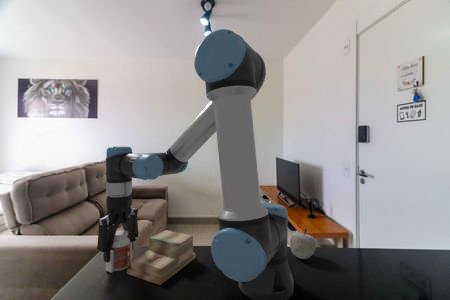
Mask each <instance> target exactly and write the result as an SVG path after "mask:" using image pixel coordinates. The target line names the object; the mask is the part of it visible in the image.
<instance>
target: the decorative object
mask: <svg viewBox="0 0 450 300" xmlns="http://www.w3.org/2000/svg"><path fill="white" fill-rule="evenodd" d="M289 246H290V247H289V248H290V251H291V253H292V254H293V255H294V256H295V257H297V258H298V259H302V260H307V259H310V258H311V257H312V255H313V254H314V253H315V252H316V248H317V240H316V239H315V237H314V236H312V235H310V234H307V228H304V230H303V232H301V231H295V232H293V233H292V234H291V235H290V238H289Z"/></svg>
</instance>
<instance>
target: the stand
mask: <svg viewBox="0 0 450 300" xmlns="http://www.w3.org/2000/svg"><path fill="white" fill-rule="evenodd" d="M148 240H149V249H148V250H146V251H144V252H142V253H141V254H139V255H137V256H135V257H132V259H131V262H130V266H129V267H127V268H126V274H127V275H130V276H133V277H135V278H138V279H141V280H144V281H146V282H150V283H153V284H156V285H158V286H161V285H162V284H164V283H166V281H168V280H169V279H170V278H172V276H175V274H177V273H178V272H179V271H181V270H182V269H183V268H184V267H185V266H187V265H188V264H190V263H191V262H192V261H193V260H195V258H197V257H196V255H197V254H196V253H195V252H193V251H194V236H193V235H192V234H187V233H182V232H177V231H174V230H173V231H172V230H167V229H164V230H163V231H160V232H158V233H156V234H154V235H152V236H150V237H149V239H148Z"/></svg>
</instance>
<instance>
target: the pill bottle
mask: <svg viewBox="0 0 450 300" xmlns="http://www.w3.org/2000/svg"><path fill="white" fill-rule="evenodd" d="M127 235H128V232H127V231H126V230H124V229H119V230H116V234H115V238H114V242H113V245H112V249H111V250H113V251H114V272H120V271H123V270H125V269H126V270H127V269H128V268H129V267H130V266H131V262H130V239H129V238H127Z"/></svg>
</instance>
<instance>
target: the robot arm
mask: <svg viewBox="0 0 450 300" xmlns="http://www.w3.org/2000/svg"><path fill="white" fill-rule="evenodd" d="M193 66H194V70H195V72H196V74H197V76H198V77H199V79H201V80H202V81H203V82H204V84H205V94H206V98H207V100H209V103H207V105H206V106H205V107H204V108H203V109H202V110H201V112H200V113H199V114H198V115H197V116H196V117H195V118H194V120H193V121H192V122H191V123H190V124H189V125H188V126H187V127H186V129H185V130H184V131H183V132H182V133H181V134H180V135H179V136H178V138H177V139H176V140H175V141H174V143H172V145H171V146H170V147H169V148H168V149H167V150H166V151H165V152H153V153H151V152H149V153H135V152H134V153H133V148H132V147H131V146H108V147H107V148H106V153H105V154H106V157H105V173H106V174H105V178H106V183H105V185H106V186H105V187H106V188H105V189H106V190H105V191H106V192H105V195H107V196H106V198H105V199H106V200H105V202H106V203H105V206H106V210H107V212H106V214H105V216H104V217H99V218H97V224H98V235H97V245H96V251H98V252H102V253H103V262H104V263H105V271H106V272H109V273H113V272H115V271H114V251H113V250H111V249H112V245H113V242H114V238H115V234H116V231H118V229H119V226H120V225H121V226H122V228H123V229H122V230H126V231H127V232H128V235H127V238H129V239H130V263H131V259H133V250H134V242H136V240H137V238H138V237H139V234H140V233H139V226H138V225H139V222H138V221H139V220H138V215H139V213H138V212H139V209H138V208H133V207H132V205H133V195H132V193H133V179H139V180H143V181H147V180H157V179H158V177H162V176H167V175H169V176H170V175H177V174H179V173H183V172H184V171H186V169H187V168H188V165H189V160H190V159H191V158H192V157H193V156H194V155H195V154H196V153H197V152H198V151H199V150H200V149H201V148H202V147H203V146H204V145H205V144H206V143H207V142H208V141H209V139H210V138H211V137H212V136H214V134H215V133H216V140H217V142H216V143H217V151H218V161H219V163H218V164H219V173H220V181H221V182H220V183H221V192H222V205H223V206H222V208H221V209H220V210H219V212H218V213H217V222H218V223H217V225H218V226H217V227H218V231H217V232H216V233H215V235H214V236H213V238H212V240H211V243H210V252H211V257H212V259H213V262H214V264H215V266H216V267H217V268H218V270H221V271H222V274H224V276H225V277H227V278H229V279H231V280H233V281H236V282H238V287H239V290H240V292H241V293H242V294H243V295H245V296H246V297H247V298H249V299H251V300H289V299H290V298H291V297H292V296H293V294H294V289H295V288H294V284H295V283H294V278H293V275H292V271H291V269H290V266H289V261H288V235H289V234H288V232H289V231H288V229H289V227H288V226H289V215H288V209H287V207H285V206H284V205H282V204H278V203H273V202H262V201H261V193H260V191H261V190H260V182H259V173H258V163H257V162H258V161H257V160H258V159H257V152H256V142H255V132H254V131H255V130H254V122H253V110H252V103H251V102H252V100H253V99H254V98H255V96H257V94H258V93H259V92H260V90H261V89H262V87H263V85H264V82H265V80H266V76H267V70H266V69H267V68H266V64H265V61H264V59H263V57H262V56H261V55H260V54H259V53H258V52H257V51H255V49H254V48H252V47H251V45H250V44H248V43H247V42H246V41H245V40H244V38H243V36H241V35H240V34H237V33H236V32H235V31H233V30H230V29H227V28H225V29H223V28H222V29H216V30H214V31H211V32H210V33H208V34H207V35H206V36H205V37H203V39H202V41H201V42H200V44H199V45H198V46H197V48H196V50H195V54H194V59H193Z"/></svg>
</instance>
